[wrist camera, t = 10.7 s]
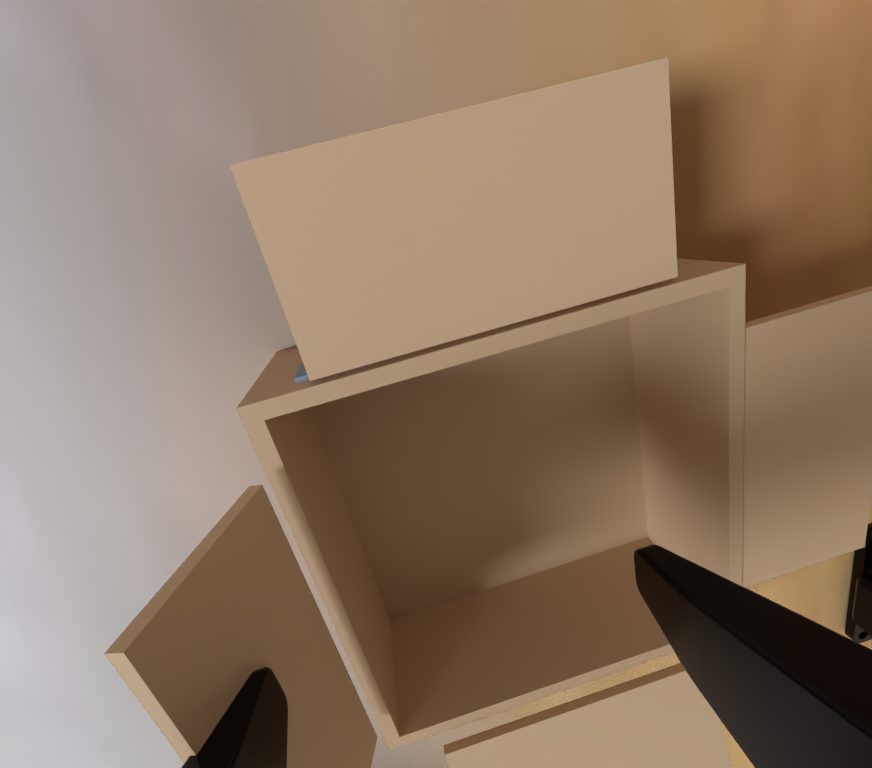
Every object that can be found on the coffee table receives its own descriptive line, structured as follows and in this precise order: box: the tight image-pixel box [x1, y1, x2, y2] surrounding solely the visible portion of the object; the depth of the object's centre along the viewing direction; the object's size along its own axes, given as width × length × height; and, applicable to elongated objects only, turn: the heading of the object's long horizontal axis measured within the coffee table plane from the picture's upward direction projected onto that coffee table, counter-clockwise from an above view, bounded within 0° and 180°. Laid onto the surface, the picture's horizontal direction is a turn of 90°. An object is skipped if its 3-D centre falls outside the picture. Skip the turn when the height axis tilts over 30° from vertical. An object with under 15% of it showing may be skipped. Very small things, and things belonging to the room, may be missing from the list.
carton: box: [230, 57, 872, 750], centre depth 12 cm, size 15×15×4 cm
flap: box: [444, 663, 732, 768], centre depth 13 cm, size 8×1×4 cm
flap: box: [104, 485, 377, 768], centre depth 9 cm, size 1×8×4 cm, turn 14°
